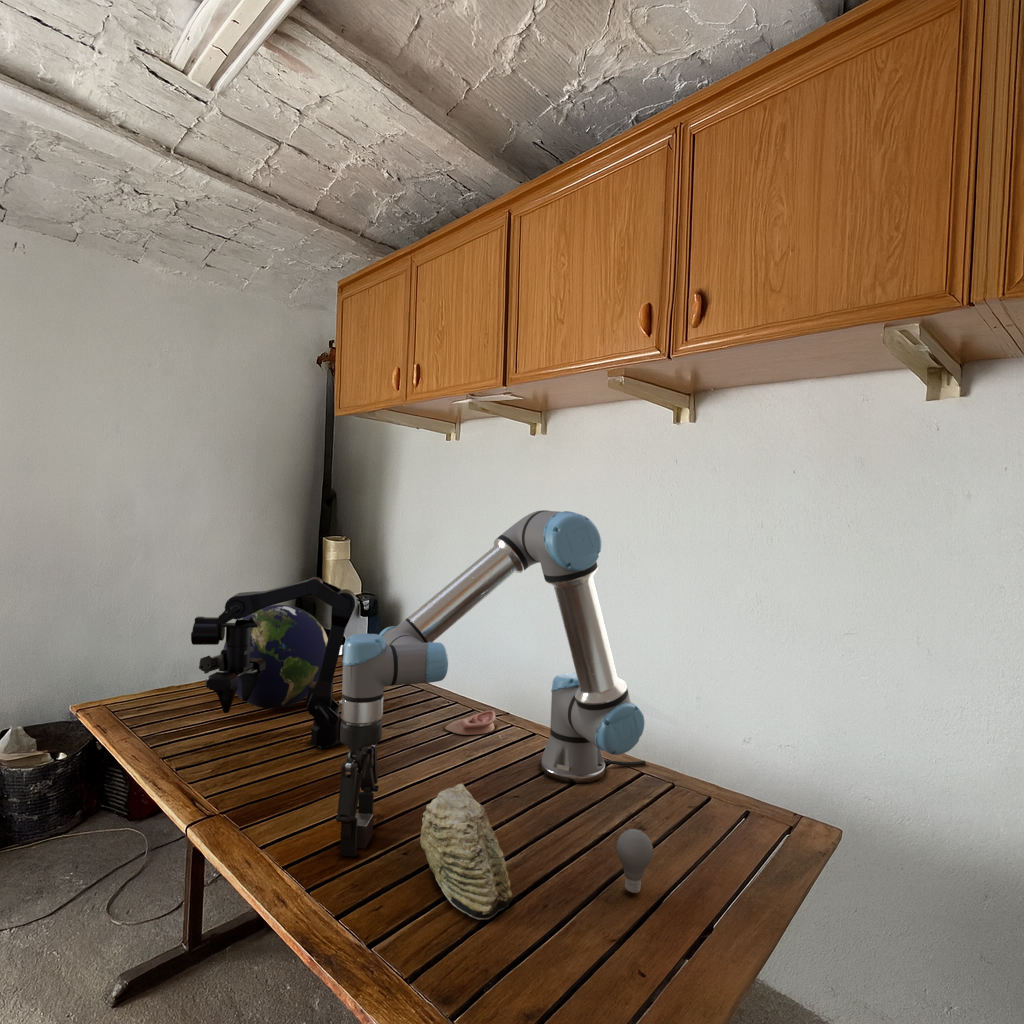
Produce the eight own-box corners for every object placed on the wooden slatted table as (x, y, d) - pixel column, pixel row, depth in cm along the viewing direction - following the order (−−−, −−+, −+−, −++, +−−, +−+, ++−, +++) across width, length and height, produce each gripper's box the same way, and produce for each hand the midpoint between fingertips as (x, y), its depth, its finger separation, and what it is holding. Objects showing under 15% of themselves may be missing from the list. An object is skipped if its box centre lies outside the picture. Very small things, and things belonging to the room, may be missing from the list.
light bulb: (610, 879, 108) (613, 822, 108) (644, 879, 109) (647, 822, 109) (619, 902, 102) (622, 840, 102) (655, 901, 103) (658, 840, 103)
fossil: (447, 853, 114) (450, 771, 114) (521, 902, 101) (525, 809, 101) (406, 873, 108) (410, 785, 107) (480, 928, 95) (484, 828, 94)
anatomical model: (442, 717, 173) (454, 704, 184) (441, 732, 173) (453, 718, 184) (489, 723, 170) (498, 710, 181) (488, 738, 170) (498, 723, 181)
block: (348, 834, 120) (349, 812, 120) (372, 836, 119) (373, 814, 119) (340, 846, 115) (341, 823, 115) (365, 848, 115) (366, 826, 115)
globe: (289, 685, 209) (292, 594, 208) (348, 705, 191) (352, 606, 191) (199, 706, 185) (203, 604, 184) (258, 732, 167) (262, 619, 167)
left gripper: (226, 634, 167) (224, 693, 168) (184, 651, 149) (182, 717, 149) (267, 637, 166) (265, 696, 167) (230, 654, 148) (228, 720, 148)
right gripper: (360, 699, 128) (356, 810, 128) (319, 740, 106) (314, 872, 107) (397, 702, 127) (392, 813, 128) (363, 743, 106) (357, 876, 106)
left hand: (235, 706), depth 158 cm, fingers open, 9 cm apart
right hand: (356, 840), depth 117 cm, fingers open, 9 cm apart
